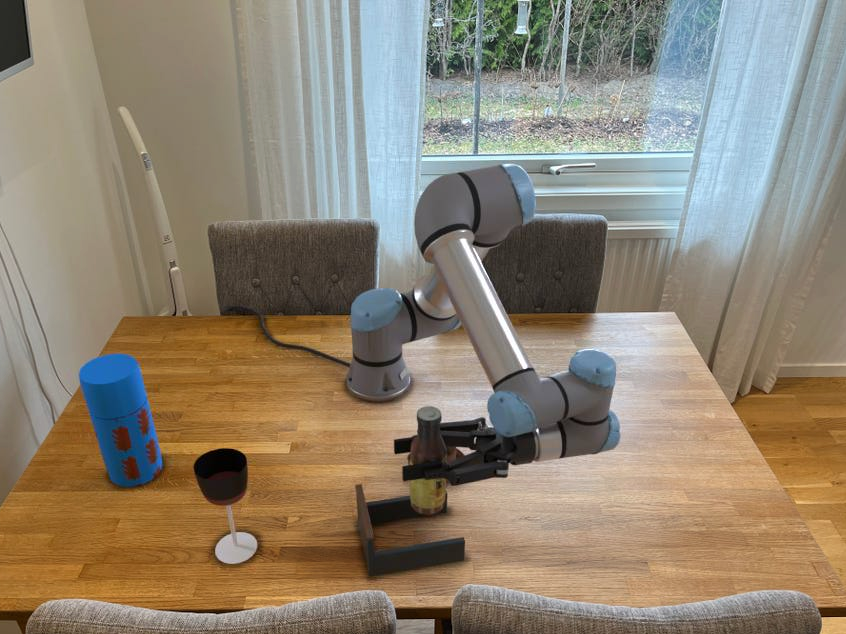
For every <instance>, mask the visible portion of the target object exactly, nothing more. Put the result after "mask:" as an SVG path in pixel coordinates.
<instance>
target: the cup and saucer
mask: <svg viewBox="0 0 846 634" xmlns="http://www.w3.org/2000/svg"><path fill="white" fill-rule="evenodd" d="M446 449H447V462H450V461H453V460H455V459H458V458H460V457H463V456H465V454H464V453H463V452H462V451H461V450H460V449H459V448H458V447H450V446H446ZM410 456H411V452H409V454H407V457H406V459H407V463H408V464H407V465H410ZM457 478H459V476H458V477H457ZM446 484H450V482H449V481H448V480H447V479H446Z"/></svg>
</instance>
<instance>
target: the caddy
mask: <svg viewBox="0 0 846 634" xmlns="http://www.w3.org/2000/svg"><path fill="white" fill-rule="evenodd" d="M354 488H355V495H356V496H355V497H356V498H355V499H356V513H357V526H358V529H359V534H360V539H361V543H362V549H363V553H364V558H365V563H366V568H367V572H368V576H369V578H370V577H376V576H383V575H387V574H394V573H400V572H406V571H411V570H417V569H423V568H424V569H425V568H429V567H435V566H442V565H448V564H455V563H458V562H464V561H465V554H466V553H465V551H466V539H465V537H464V536H461V537H454V538H449V539H442V540H436V541H431V542H423V543H419V544H412V545H407V546H399V547H394V548H388V549H381V550H375V542H374V541H375V535H374V531H373V525H377V524H384V523H391V522H396V521H403V520H404V521H405V520H410V519H417V518H422V517H430V516H431V515H424V514H420V513H418V512H416V511H415V510H414V509H413V507H412V506H411V501H410V495H406V496H397V497H392V498H386V499H379V500H378V499H377V500H372V501H366V497H365V492H364V487H363V483H358V484H355V485H354ZM447 513H448V491H447V490H446V495H445V501H444V505H443V508H442V509H441V510H440V511H439V512H437V513H435V514H433V515H432V516H435V515H441V514H447Z"/></svg>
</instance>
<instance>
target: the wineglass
mask: <svg viewBox="0 0 846 634" xmlns="http://www.w3.org/2000/svg"><path fill="white" fill-rule="evenodd" d="M248 468H249V467H248V459H247V456H246V454H245V453H243V452H242V451H241V450H238V449H236V448H231V447H230V448H228V447H223V448H215V449H212V450H208V451H207V452H204V453H203V454H201V455H200V456H199V457H197V459H196V460H195V461H194V463H193V473H194V476H195V477H194V478H195V479H196V482H197V485H198V487H199V490H200V492H201V493H202V495H203V497H204V499H205V500H206V501H207V502H209V503H210V504H212V505H213V506H218V507H226V513H227V517H228V523H229V528H230V534H227V535H225V536H224V537H222V538H221V539H219V541H218V542H217V543H216V546H215V548H214V551H215V553H214V554H215V557H216V558H217V559H218V560H219V561H221V562H222V563H225V564H229V565H235V564H240V563H243V562H245V561H248V560H249V559H250V558H251V557H253V555H255V553H256V552H257V549H258V541H257V539H256V537H255V536H254V535H253V534H252V533H248V532H245V531H236V526H235V521H234V517H233V511H232V505H235V504H237V503H238V502H240V501H241V500H242V499H243V498H244V496H245V495H246V493H247V490H248V483H249V481H248V480H249V469H248Z"/></svg>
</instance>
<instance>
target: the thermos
mask: <svg viewBox="0 0 846 634" xmlns="http://www.w3.org/2000/svg"><path fill="white" fill-rule="evenodd" d="M78 378H79V379H78V380H79V385H80V387H81V391H82V395H83V397H84V401H85V404H86V407H87V410H88V414H89V417H90V421H91V423H92V427H93V430H94V433H95V438H96V440H97V442H98V443H97V444H98V446H99V447H98V448H99V450H100V453H101V456H102V460H103V462H104V465H105V468H106V470H107V474H108V476H109V478H110V481H111V482H112V483H114V484H115V485H116V486H119V487H124V488H125V487H126V488H127V487H130V488H131V487H137V486H141V485H144V484H146V483H148V482H150V481H152V480H153V479H154V478H156V477H157V476H158V475H159V474H160V472H161V471H162V468H163V460H162V453H161V448H160V444H159V440H158V436H157V431H156V428H155V424H154V420H153V416H152V412H151V407H150V403H149V399H148V395H147V391H146V387H145V383H144V378H143V375H142V371H141V367H140V365H139V363H138V361H137V359H136V358H135V357H133V356H132V355H131V354H126V353H110V354H104V355H101V356H98V357H94V358H92V359H91V360H89V361H87V362H86V363H84V365H82V366H81V368H80V369H79V372H78Z"/></svg>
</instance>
